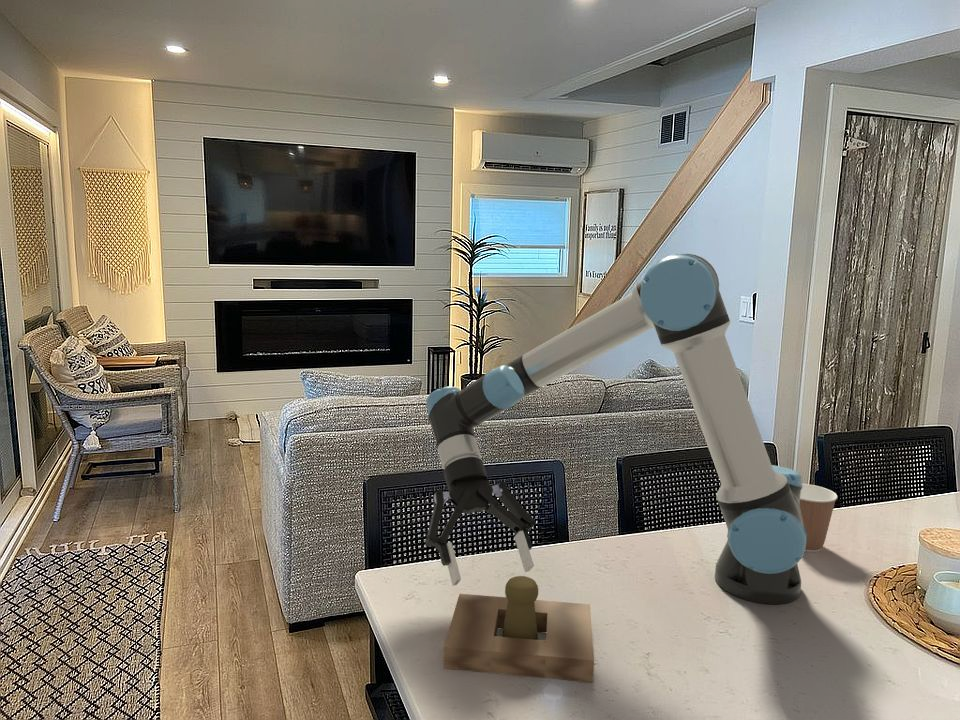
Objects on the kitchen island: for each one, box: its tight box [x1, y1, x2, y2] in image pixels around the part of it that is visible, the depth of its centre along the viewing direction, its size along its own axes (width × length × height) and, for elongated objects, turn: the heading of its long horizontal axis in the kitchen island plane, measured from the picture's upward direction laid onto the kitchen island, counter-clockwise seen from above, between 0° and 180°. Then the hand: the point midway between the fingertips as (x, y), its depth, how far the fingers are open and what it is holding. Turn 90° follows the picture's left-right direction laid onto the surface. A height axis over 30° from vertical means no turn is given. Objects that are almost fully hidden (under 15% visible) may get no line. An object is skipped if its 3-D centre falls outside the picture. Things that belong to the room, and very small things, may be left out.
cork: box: [501, 575, 539, 640], centre depth 111 cm, size 6×6×11 cm
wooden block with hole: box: [443, 593, 595, 683], centre depth 112 cm, size 22×16×4 cm
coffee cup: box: [800, 483, 838, 553], centre depth 151 cm, size 10×10×12 cm
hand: (494, 576), depth 121 cm, fingers open, 13 cm apart
